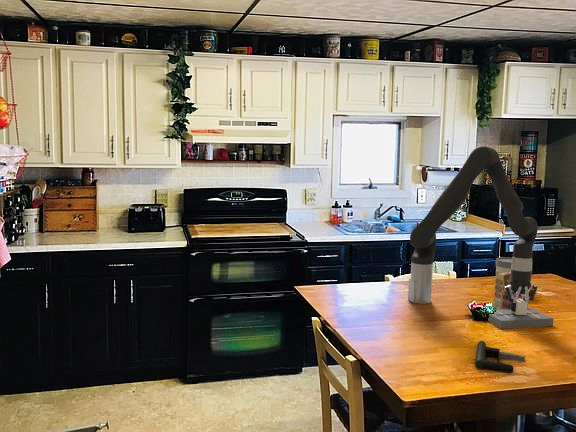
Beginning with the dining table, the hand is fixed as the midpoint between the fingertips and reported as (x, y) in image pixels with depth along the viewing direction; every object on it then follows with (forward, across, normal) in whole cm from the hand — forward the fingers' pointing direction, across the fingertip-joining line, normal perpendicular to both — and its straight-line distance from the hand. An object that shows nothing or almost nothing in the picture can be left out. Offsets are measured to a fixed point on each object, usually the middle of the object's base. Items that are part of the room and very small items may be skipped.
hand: (518, 311), depth 236 cm
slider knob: (+1, 0, 0) cm, 1 cm away
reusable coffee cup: (+5, -22, -43) cm, 48 cm away
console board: (+4, 0, 0) cm, 4 cm away
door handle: (+5, +30, +37) cm, 47 cm away
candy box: (+5, -4, -18) cm, 19 cm away
